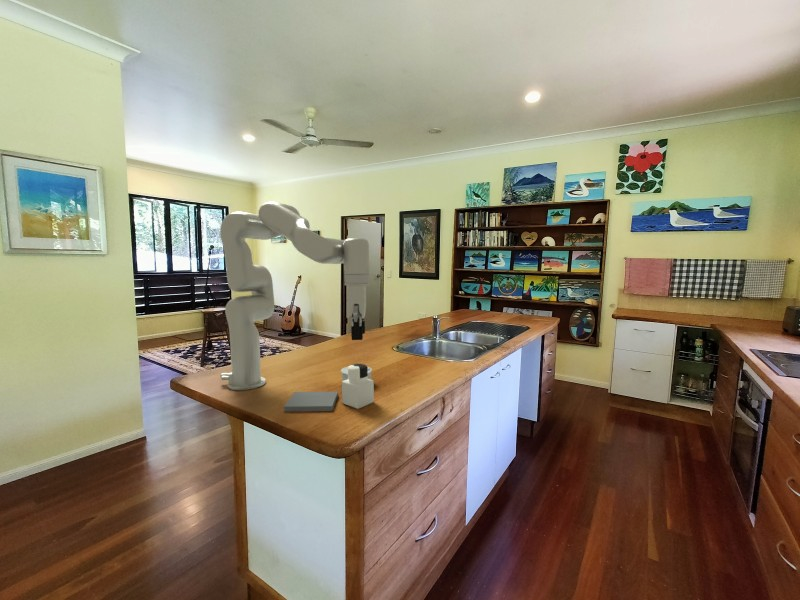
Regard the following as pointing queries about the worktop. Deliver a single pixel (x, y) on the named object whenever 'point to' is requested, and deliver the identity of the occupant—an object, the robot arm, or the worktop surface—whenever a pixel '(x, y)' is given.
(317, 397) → the rubber mat
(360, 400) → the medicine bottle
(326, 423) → the worktop surface
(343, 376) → the ramekin
